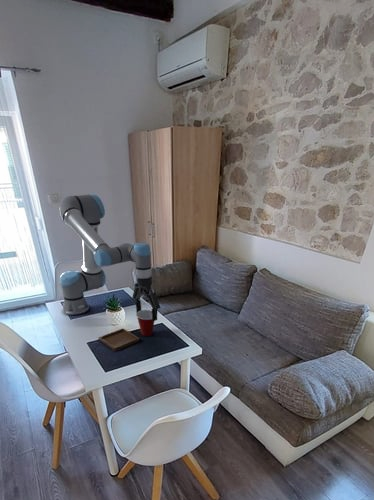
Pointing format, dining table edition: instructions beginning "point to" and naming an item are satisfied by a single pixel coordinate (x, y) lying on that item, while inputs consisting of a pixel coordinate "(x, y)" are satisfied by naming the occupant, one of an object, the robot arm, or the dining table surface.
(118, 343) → the tray
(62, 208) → the robot arm
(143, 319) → the plastic cup
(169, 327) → the dining table surface
